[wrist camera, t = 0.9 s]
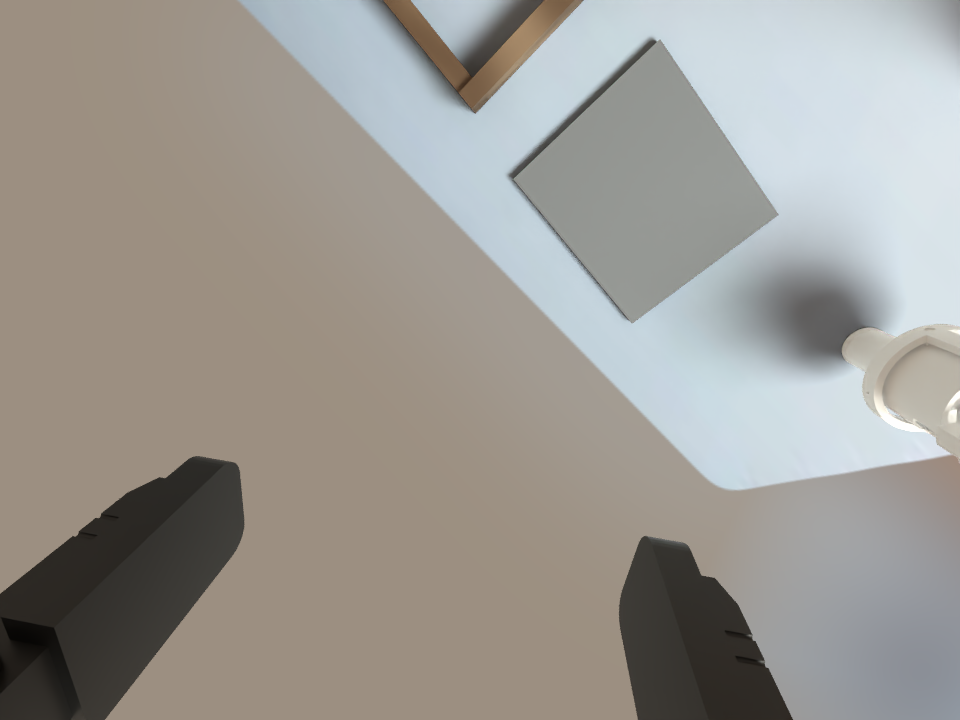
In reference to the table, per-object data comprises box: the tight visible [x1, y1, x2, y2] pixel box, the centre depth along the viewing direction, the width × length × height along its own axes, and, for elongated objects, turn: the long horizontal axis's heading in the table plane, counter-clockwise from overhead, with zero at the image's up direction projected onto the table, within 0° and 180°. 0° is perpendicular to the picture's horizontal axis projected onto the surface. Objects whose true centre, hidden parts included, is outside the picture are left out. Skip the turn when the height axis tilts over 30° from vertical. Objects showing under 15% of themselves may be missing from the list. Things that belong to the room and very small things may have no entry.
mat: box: [513, 40, 778, 323], centre depth 32 cm, size 12×14×1 cm
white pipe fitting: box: [842, 324, 960, 464], centre depth 28 cm, size 7×7×15 cm
